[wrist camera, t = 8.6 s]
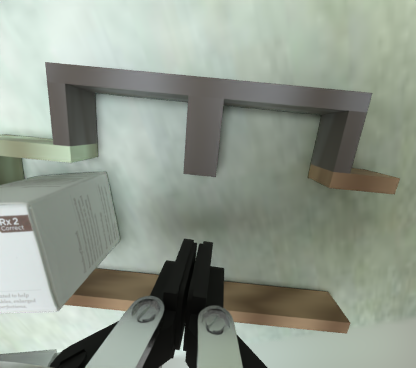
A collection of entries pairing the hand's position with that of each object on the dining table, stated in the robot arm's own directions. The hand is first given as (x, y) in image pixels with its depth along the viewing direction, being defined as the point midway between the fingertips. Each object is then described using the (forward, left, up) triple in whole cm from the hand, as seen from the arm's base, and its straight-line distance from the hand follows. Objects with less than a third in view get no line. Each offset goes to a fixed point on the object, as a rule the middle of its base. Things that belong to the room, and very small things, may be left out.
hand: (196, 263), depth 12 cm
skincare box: (+10, 0, -6) cm, 11 cm away
